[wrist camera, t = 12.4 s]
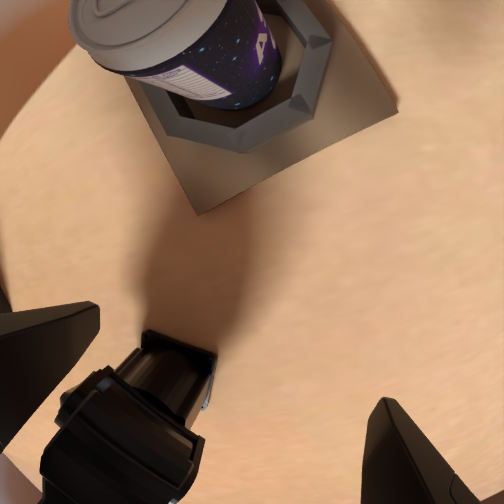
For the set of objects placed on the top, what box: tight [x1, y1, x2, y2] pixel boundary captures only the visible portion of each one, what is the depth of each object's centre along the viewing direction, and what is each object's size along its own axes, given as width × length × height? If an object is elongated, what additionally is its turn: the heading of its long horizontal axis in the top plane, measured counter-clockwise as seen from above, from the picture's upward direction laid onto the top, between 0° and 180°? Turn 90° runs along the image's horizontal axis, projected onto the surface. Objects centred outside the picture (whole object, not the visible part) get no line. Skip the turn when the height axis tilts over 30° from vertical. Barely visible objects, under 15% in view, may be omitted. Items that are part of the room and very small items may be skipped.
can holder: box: [124, 0, 399, 216], centre depth 17 cm, size 14×14×4 cm
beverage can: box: [68, 0, 282, 111], centre depth 12 cm, size 6×6×12 cm
